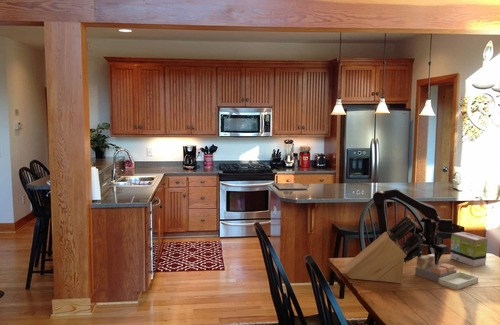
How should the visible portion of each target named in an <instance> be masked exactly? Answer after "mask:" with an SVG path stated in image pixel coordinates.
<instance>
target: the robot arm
mask: <svg viewBox="0 0 500 325" xmlns="http://www.w3.org/2000/svg"><path fill="white" fill-rule="evenodd" d="M394 198H396V199H398V200H400V201H401V202H403V203H404V204H407V205H408V206H411V207H412V208H414V209H416V210H417V211H418V212H419V213H420V214H422V215H423V216H422V218H420V219H419V222H420V223H423V230H422V232H420V233H421V234H422V238H423V237H424V238H425V239H426V240H425V241H424V242H422V243H421V244H420V246H421V248H422V249H423V246H424V247H427V248H431V249H434V250H435V251H434V252H433V254H434V255H435V265H437V264H438V261H439V262H440V260H441V257H442V256H443V255H444V254H446V253H449V252H450V247H449V245H447V244H446V245H445V244H443V242H442V241H443V238H442V237H440V236H438V233H436V231H439V233H440V234H451V235H452V233H453V232H454V230H453V229H454V227H453V219H449V218H448V219H447V218H446V219H443V218H441V217H440V216H439V215H438V213H437V212H438V210H437V208H436V206H434V205H431V204H429V203H425V202H422V201H420V200H417V199H416V198H414V197H412V196H410V195H408V194H407V193H405V192H403V191H401V190H400V189H398V188H394V189H389V190H377V191H375V193H374V194H373V196H372V200H373V203H374V206H375V208H376V211H377V212H376V213H377V217H378V226H379V232H380V236H381V235H382V234H383V233H384V232H387V233H388V231H389V228H388V221H387V220H388V219H387V212H386V203H387V200H390V199H394ZM419 239H421V237H420V238H419ZM418 257H422V253H421V254H419V255H418V256H416V258H418Z"/></svg>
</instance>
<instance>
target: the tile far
mask: <svg viewBox="0 0 500 325" xmlns="http://www.w3.org/2000/svg"><path fill="white" fill-rule="evenodd" d="M439 266H440V267H443V268H446V271H447V272H450V271H453V270H456V269H455V267H456V266H455V265H452V264H450V263H449V264H448V263H441V264H439Z"/></svg>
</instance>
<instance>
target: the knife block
mask: <svg viewBox="0 0 500 325" xmlns="http://www.w3.org/2000/svg"><path fill="white" fill-rule="evenodd" d="M411 218H412V217H411V216H410V215H409V214H408V215H406V216H405V217H403V218H402V219H400V220H399V221H398V222H397V223H396V224H394V226H392V227H391V228H390V229H388V233H387V232H384V233H383V234H382V235H381V234H380V235H379V236H378V237H377V238H376V239H375V240H373V241H372V242H371V243H370V244H368V246H366V247H365V248H363V249H362V250H361V251H360V252H359V253H358V254H357V255H356V256H354V257H353V258H352V259H350V261H349V262H347V263H346V264H345V265H344V267H345V268H344V269H345V270H344V271H345V274H346V276H347V277H348V278H349V279H352V280H361V281H362V280H363V281H364V280H365V281H377V282H385V283H386V282H387V283H395V284H396V283H397V284H402V283H403V274H404V264H407V263H409V262H410V261H412V260H413V259H415V258H417V256H418V255H419V254H421V255H422V254H423V253H424V249H423V247H422V248H421V246H420V244H421V243H422V242H424V241H425V240H426V239H425V238H424V237H423V235H422V234H421V233H422V232H419V233H415V234H412V235H411V236H409V237H408V238H407V239H406V240H405V241H404V243H403V244H402V245H400V244H399V243H398V242H399V241H400V240H401V239H402V238H403V239H404V237H405V236H407V235H408V234H409V233H410V232H411V231H412V230H413V229H415V228H416V227H418V223H417V222H416V221H415V220H414V219H413V218H412V219H411ZM419 238H420V239H419ZM405 249H406V250H405Z"/></svg>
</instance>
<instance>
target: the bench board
mask: <svg viewBox="0 0 500 325" xmlns="http://www.w3.org/2000/svg"><path fill="white" fill-rule="evenodd" d="M439 265H440V264H439ZM439 265H436V266H439ZM432 267H434V266H432ZM414 272H415V273H414V274H415V276H416V275H417V276H419V277H422V278H425V279H427V280H431V281H434V282H437V283H438V278H441V277H445V276H448V275H451V274H454V273H457V269H455V270H453V271H450V272H447V271H446V273H444V274H437V273H434V272H431V267H429V268H425V269H419V268H416V267H415V270H414Z"/></svg>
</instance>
